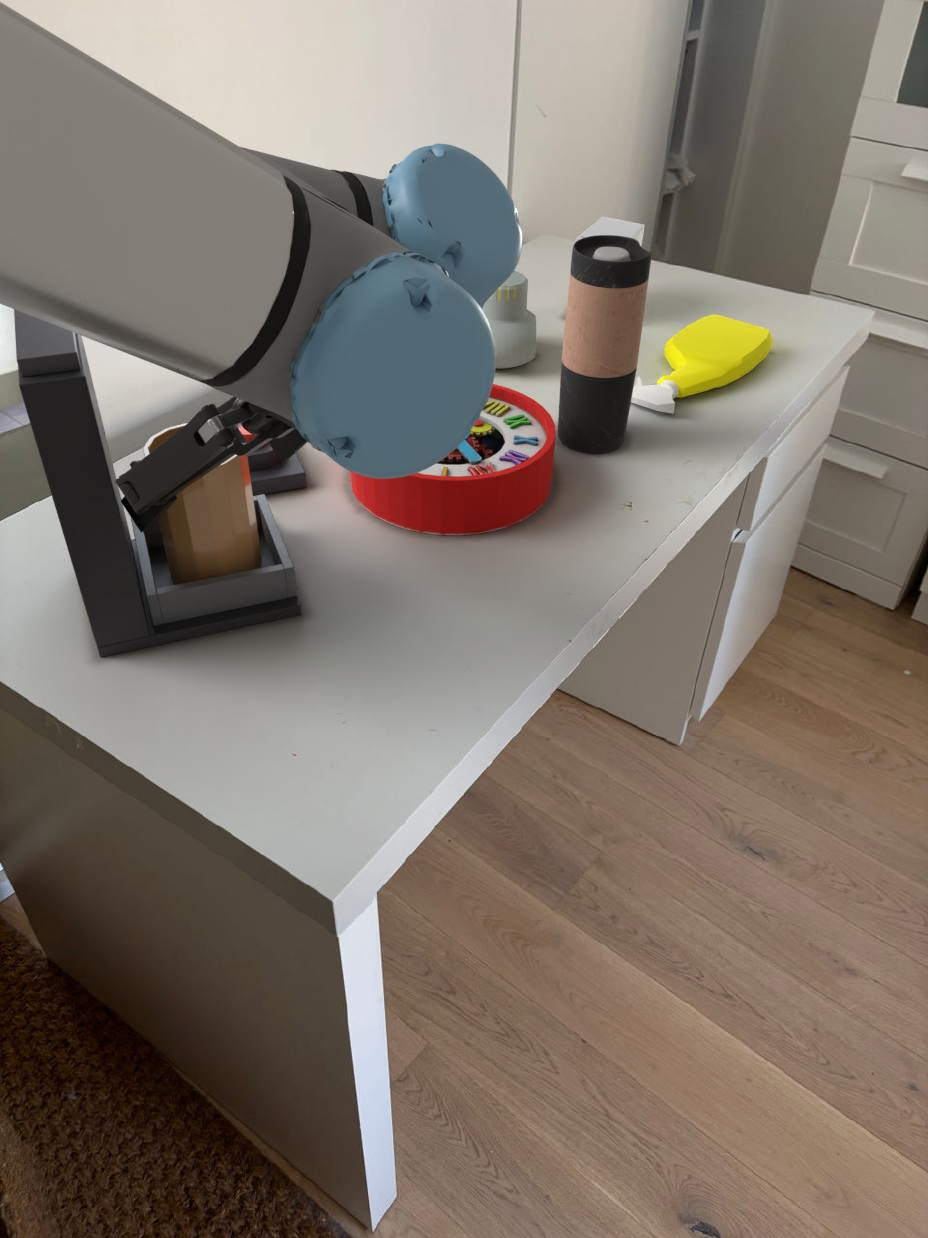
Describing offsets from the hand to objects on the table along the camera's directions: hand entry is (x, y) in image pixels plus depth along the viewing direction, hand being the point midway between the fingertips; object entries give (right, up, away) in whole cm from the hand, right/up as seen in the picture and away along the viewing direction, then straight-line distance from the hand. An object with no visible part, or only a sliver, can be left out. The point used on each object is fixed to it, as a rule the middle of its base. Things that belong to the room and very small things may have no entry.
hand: (209, 479), depth 75 cm
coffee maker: (-3, -8, +7) cm, 11 cm away
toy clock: (+19, +3, +21) cm, 29 cm away
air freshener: (+24, +21, +43) cm, 53 cm away
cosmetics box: (+38, +31, +55) cm, 74 cm away
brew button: (-1, +7, +20) cm, 21 cm away
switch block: (-1, +4, +22) cm, 22 cm away
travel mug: (+33, +9, +28) cm, 45 cm away
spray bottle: (+47, +18, +40) cm, 65 cm away
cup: (-1, -7, +7) cm, 10 cm away
